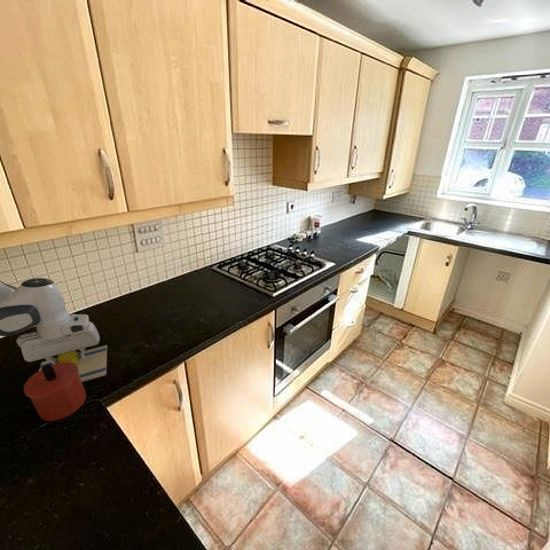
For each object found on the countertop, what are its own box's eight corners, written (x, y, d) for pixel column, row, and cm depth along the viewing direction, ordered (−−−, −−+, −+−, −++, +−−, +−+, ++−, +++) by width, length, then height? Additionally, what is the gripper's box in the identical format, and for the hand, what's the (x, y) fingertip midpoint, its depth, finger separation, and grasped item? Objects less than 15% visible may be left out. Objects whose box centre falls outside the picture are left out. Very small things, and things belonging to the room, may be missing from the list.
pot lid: (19, 406, 76) (11, 392, 74) (30, 373, 86) (23, 360, 84) (76, 389, 81) (70, 375, 79) (81, 359, 91) (75, 346, 89)
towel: (31, 397, 90) (30, 396, 90) (42, 363, 103) (41, 362, 103) (106, 375, 98) (105, 373, 97) (107, 346, 110) (106, 345, 110)
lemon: (64, 376, 96) (55, 357, 93) (61, 367, 100) (53, 348, 97) (83, 368, 100) (76, 349, 96) (80, 359, 103) (73, 341, 100)
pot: (35, 427, 81) (21, 402, 77) (43, 396, 90) (31, 372, 86) (84, 411, 85) (74, 386, 81) (87, 383, 95) (78, 359, 90)
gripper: (10, 342, 86) (29, 378, 92) (92, 323, 94) (103, 357, 100) (16, 330, 91) (33, 365, 97) (93, 313, 99) (104, 346, 105)
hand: (69, 361), depth 99 cm, fingers closed on lemon, 5 cm apart
